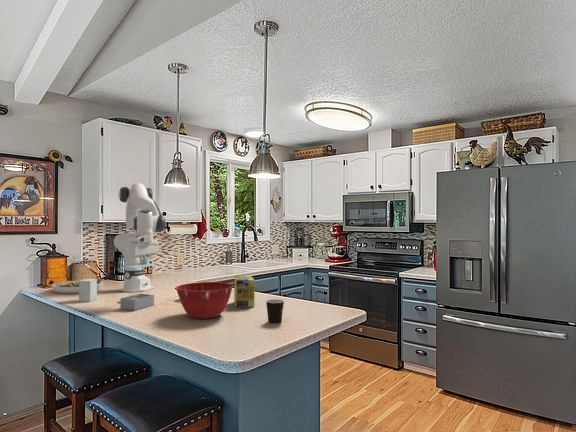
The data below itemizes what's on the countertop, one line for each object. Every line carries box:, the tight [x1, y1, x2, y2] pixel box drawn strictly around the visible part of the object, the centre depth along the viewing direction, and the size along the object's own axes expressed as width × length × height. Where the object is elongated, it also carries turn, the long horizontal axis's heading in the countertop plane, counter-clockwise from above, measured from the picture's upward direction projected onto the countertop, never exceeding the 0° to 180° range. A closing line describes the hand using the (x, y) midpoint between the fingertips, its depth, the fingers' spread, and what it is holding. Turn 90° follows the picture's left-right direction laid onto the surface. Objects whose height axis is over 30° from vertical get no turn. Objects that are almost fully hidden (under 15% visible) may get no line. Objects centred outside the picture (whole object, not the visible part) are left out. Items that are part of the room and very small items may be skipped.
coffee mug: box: [266, 298, 285, 325], centre depth 191 cm, size 12×9×10 cm
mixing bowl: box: [176, 281, 234, 320], centre depth 201 cm, size 28×28×16 cm
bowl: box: [51, 278, 103, 295], centre depth 269 cm, size 30×30×8 cm
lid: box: [119, 257, 156, 269], centre depth 220 cm, size 16×11×4 cm
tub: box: [119, 293, 155, 312], centre depth 219 cm, size 15×10×6 cm, turn 158°
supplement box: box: [78, 278, 98, 303], centre depth 235 cm, size 7×7×13 cm
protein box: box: [233, 275, 256, 309], centre depth 227 cm, size 10×15×16 cm
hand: (144, 262), depth 225 cm, fingers closed on lid, 2 cm apart
